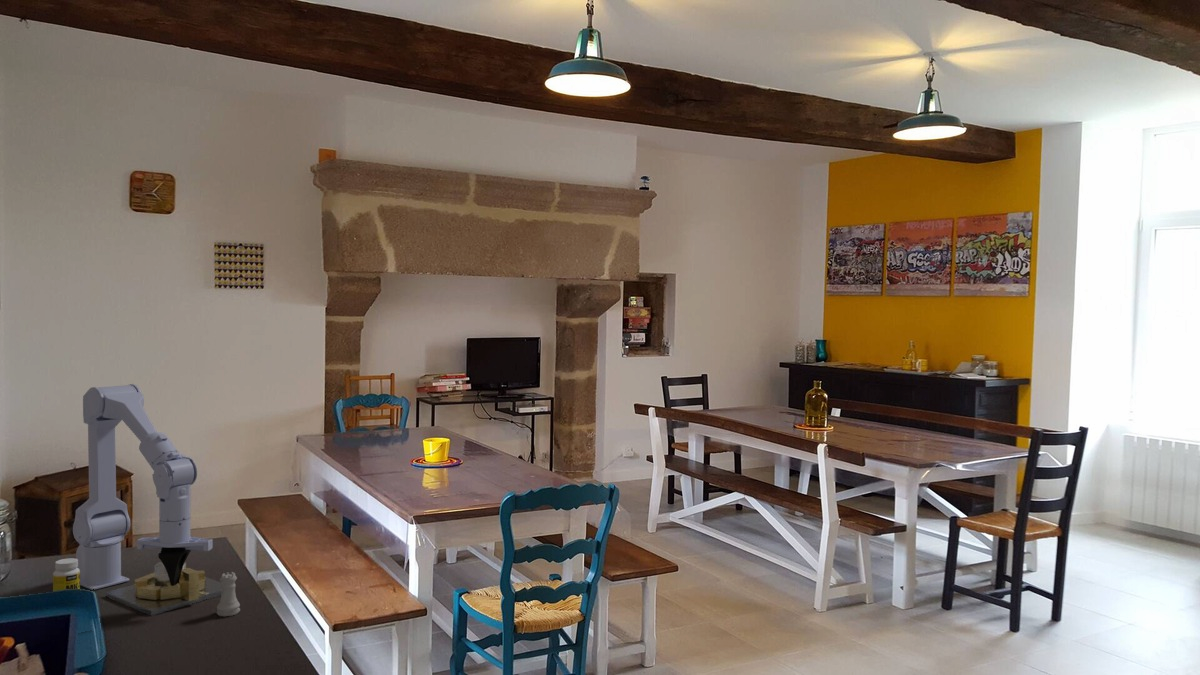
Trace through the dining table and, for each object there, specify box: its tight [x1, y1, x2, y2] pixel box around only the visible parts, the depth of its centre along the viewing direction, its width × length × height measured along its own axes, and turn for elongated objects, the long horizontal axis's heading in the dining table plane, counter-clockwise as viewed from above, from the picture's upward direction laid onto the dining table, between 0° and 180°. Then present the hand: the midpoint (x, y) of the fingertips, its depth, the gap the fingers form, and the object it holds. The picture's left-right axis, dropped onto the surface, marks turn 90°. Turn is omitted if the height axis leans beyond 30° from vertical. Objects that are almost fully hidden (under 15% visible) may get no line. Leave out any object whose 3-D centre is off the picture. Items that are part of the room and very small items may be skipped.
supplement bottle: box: [52, 557, 81, 592], centre depth 180 cm, size 5×5×8 cm
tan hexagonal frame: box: [134, 567, 207, 601], centre depth 183 cm, size 13×17×6 cm
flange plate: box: [104, 560, 222, 617], centre depth 185 cm, size 18×18×7 cm
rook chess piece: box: [216, 571, 241, 618], centre depth 175 cm, size 4×4×8 cm
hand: (174, 584), depth 178 cm, fingers closed
